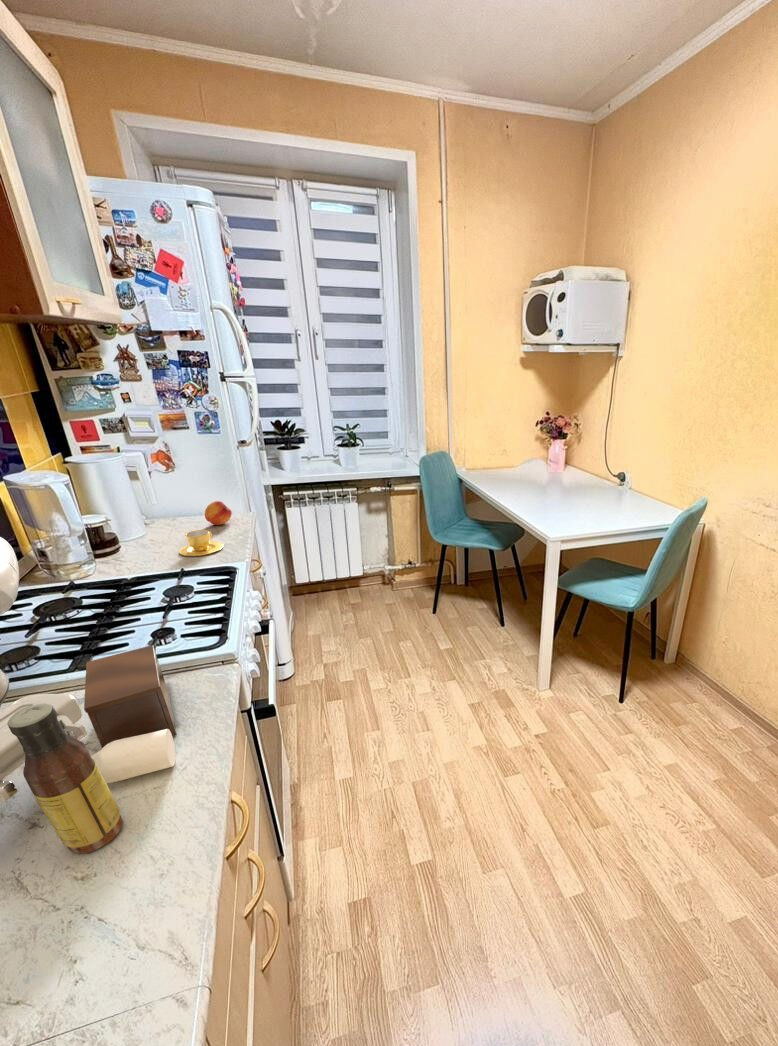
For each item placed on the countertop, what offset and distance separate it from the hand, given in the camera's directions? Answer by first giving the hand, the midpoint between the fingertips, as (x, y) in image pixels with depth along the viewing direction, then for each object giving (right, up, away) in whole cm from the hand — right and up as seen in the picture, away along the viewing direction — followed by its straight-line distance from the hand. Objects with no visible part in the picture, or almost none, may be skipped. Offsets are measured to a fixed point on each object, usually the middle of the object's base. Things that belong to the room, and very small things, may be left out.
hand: (48, 761), depth 61 cm
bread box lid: (-5, +7, +20) cm, 21 cm away
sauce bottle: (+2, -11, +5) cm, 12 cm away
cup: (-34, +33, +96) cm, 107 cm away
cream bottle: (0, -7, +14) cm, 16 cm away
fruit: (-39, +43, +118) cm, 132 cm away
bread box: (-5, -2, +24) cm, 25 cm away
